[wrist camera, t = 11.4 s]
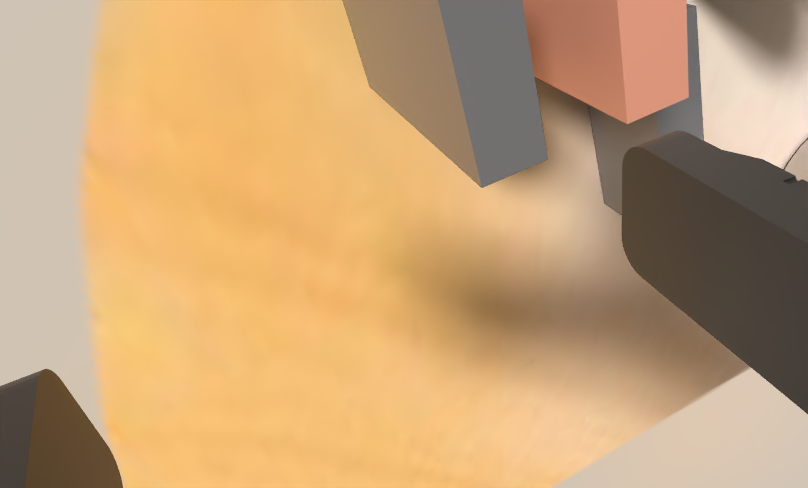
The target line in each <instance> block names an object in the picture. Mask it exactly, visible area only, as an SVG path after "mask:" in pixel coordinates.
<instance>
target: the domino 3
mask: <svg viewBox="0 0 808 488" xmlns="http://www.w3.org/2000/svg"><path fill="white" fill-rule="evenodd" d="M687 45H688V86H689V97H688V98H686V99H684V100H682V101H679V102H677V103H675V104H672V105H670V106H668V107H666V108H663V109H661V110H659V111H656V112H654V113H652V114H650V115H647V116H645V117H643V118H640V119H638V120H636V121H633V122H631V123H629V124H626V123H624V122H622V121H620V120H618V119H616V118H614V117H612V116H610V115H608V114H606V113H604V112H602V111H601V110H599V109H597V108H595V107H593V106H591V105H589V104H588V108H589V114H590V120H591V126H592V132H593V138H594V144H595V150H596V157H597V163H598V169H599V175H600V181H601V187H602V193H603V199H604V203H605V204H606V205H608V206H609V207H610V208H612V209H613V210H615V211H616V212H618V213H619V214H620V215H622V163H623V158H624V155H625V153H626V152H627V151H628V150H629V149H630V148H632V147H635V146H638V145H640V144H643V143H645V142H648V141H651V140H653V139H656V138H659V137H661V136H664V135H666V134H669V133H672V132H674V131H685V132H687V133H689V134H691V135H693V136H695V137H697V138H699V139H701V140H703V141H704V135H703V118H702V100H701V82H700V65H699V47H698V29H697V12H696V6H694V5H690V4H687Z"/></svg>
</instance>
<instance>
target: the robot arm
mask: <svg viewBox="0 0 808 488" xmlns="http://www.w3.org/2000/svg"><path fill="white" fill-rule="evenodd" d="M622 242H623V247H624V251H625V253H626V256H627V258H628V260H629V262H630V264H631V265H632V267H633V268H634V270H635V271H636V272H637V273H638V274H639V275H640V276H641V277H642V278H643V279H644V280H646V281H647V282H648V283H649V284H651V285H652V286H653V287H654V288H655V289H657V290H658V291H659V292H660V293H661V294H663V295H664V296H665V297H666V298H668V299H669V300H670V301H671V302H672V303H674V304H675V305H676V306H677V307H678V308H680V309H681V310H682V311H683V312H685V313H686V314H687V315H688V316H689V317H691V318H692V319H693V320H694V321H695V322H697V323H698V324H699V325H700V326H702V327H703V328H704V329H705V330H706V331H708V332H709V333H710V334H711V335H712V336H714V337H715V338H716V339H717V340H719V341H720V342H721V343H722V344H723V345H725V346H726V347H727V348H728V349H729V350H731V351H732V352H733V353H734V354H736V355H737V356H738V357H739V358H740V359H742V360H743V361H744V362H745V363H746V364H748V365H749V366H750V367H751V368H753V369H754V370H755V371H756V372H757V373H759V374H760V375H761V376H762V377H763V378H765V379H766V380H767V381H768V382H770V383H771V384H772V385H773V386H774V387H776V388H777V389H778V390H779V391H780V392H782V393H783V394H784V395H785V396H787V397H788V398H789V399H790V400H791V401H793V402H794V403H795V404H797V406H799V407H800V408H801V409H802V410H804V411H805V412H806V413H807V414H808V139H807V140H806V141H805V142H804V144H803V145H802V146H801V147H800V148H799V149H798V151H797V152H796V153H795V155H794V156H793V157H792V159H791V160H790V161H789V163H788V165H787V166H786V168H785V170H783V169H781V168H779V167H777V166H775V165H773V164H771V163H769V162H767V161H765V160H763V159H758V158H754V157H750V156H746V155H741V154H737V153H733V152H728V151H724V150H721V149H719V148H717V147H715V146H713V145H711V144H709V143H707V142H705V141H703V140H701V139H699V138H697V137H695V136H693V135H691V134H689V133H687V132H685V131H674V132H672V133H669V134H666V135H664V136H661V137H659V138H656V139H653V140H651V141H648V142H645V143H643V144H640V145H638V146H635V147H632V148H630V149H629V150H628V151H627V152H626V153H625V155H624V158H623V163H622ZM0 488H123V485H122V480H121V476H120V472H119V469H118V466H117V464H116V461H115V459H114V457H113V454H112V452H111V451H110V449H109V447H108V446H107V444H106V443H105V441H104V440H103V438H102V437H101V436H100V434H99V433H98V431H97V430H96V429H95V427H94V426H93V424H92V423H91V422H90V420H89V419H88V417H87V416H86V414H85V413H84V412H83V410H82V409H81V408H80V406H79V405H78V403H77V402H76V400H75V399H74V398H73V396H72V395H71V393H70V392H69V391H68V389H67V388H66V386H65V385H64V383H63V382H62V381H61V379H60V378H59V377H58V376H57V375H56V374H55V373H54V372H53V371H51V370H49V369H44V370H42V371H39V372H36V373H34V374H31V375H29V376H26V377H23V378H21V379H18V380H16V381H13V382H10V383H8V384H5V385H2V386H0Z"/></svg>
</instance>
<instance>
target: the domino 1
mask: <svg viewBox="0 0 808 488" xmlns="http://www.w3.org/2000/svg"><path fill="white" fill-rule="evenodd" d="M343 3H344V6H345V9H346V13H347V16H348V19H349V22H350V25H351V29H352V32H353V35H354V38H355V41H356V45H357V48H358V51H359V54H360V57H361V61H362V64H363V67H364V70H365V73H366V76H367V80H368V83H369V86H370V88H371V89H373V90H374V91H375V92H376V93H377V94H378V95H379V96H380V97H381V98H383V99H384V100H385V101H386V102H387V103H388V104H389V105H390V106H391V107H393V108H394V109H395V110H396V111H397V112H398V113H399V114H400V115H401V116H403V117H404V118H405V119H406V120H407V121H408V122H409V123H410V124H411V125H413V126H414V127H415V128H416V129H417V130H418V131H419V132H420V133H421V134H422V135H424V136H425V137H426V138H427V139H428V140H429V141H430V142H431V143H432V144H434V145H435V146H436V147H437V148H438V149H439V150H440V151H441V152H442V153H444V154H445V155H446V156H447V157H448V158H449V159H450V160H451V161H452V162H454V163H455V164H456V165H457V166H458V167H459V168H460V169H461V170H462V171H464V172H465V173H466V174H467V175H468V176H469V177H470V178H471V179H472V180H473V181H475V182H476V183H477V184H478V185H479V186H480V187H481V188H483V187H485V186H488V185H490V184H492V183H495V182H497V181H499V180H501V179H504V178H506V177H508V176H511V175H513V174H515V173H517V172H520V171H522V170H524V169H527V168H529V167H531V166H533V165H536V164H538V163H540V162H543V161H545V160H547V159H548V156H547V150H546V144H545V138H544V131H543V125H542V119H541V113H540V107H539V101H538V94H537V88H536V82H535V76H534V70H533V64H532V58H531V51H530V45H529V39H528V33H527V27H526V21H525V15H524V8H523V2H522V0H343Z"/></svg>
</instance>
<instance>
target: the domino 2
mask: <svg viewBox="0 0 808 488" xmlns="http://www.w3.org/2000/svg"><path fill="white" fill-rule="evenodd" d="M522 2H523V8H524V15H525V21H526V27H527V33H528V39H529V45H530V51H531V58H532V64H533V70H534V76H535V77H536V78H538V79H540V80H542V81H544V82H546V83H548V84H550V85H552V86H554V87H555V88H557V89H559V90H561V91H563V92H565V93H567V94H569V95H571V96H573V97H575V98H577V99H579V100H581V101H583V102H585V103H587V104H589V105H591V106H593V107H595V108H597V109H599V110H601V111H602V112H604V113H606V114H608V115H610V116H612V117H614V118H616V119H618V120H620V121H622V122H624V123H626V124H629V123H631V122H633V121H636V120H638V119H640V118H643V117H645V116H647V115H650V114H652V113H654V112H656V111H659V110H661V109H663V108H666V107H668V106H670V105H672V104H675V103H677V102H679V101H682V100H684V99H686V98H688V97H689V86H688V45H687V3H686V0H522Z"/></svg>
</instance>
